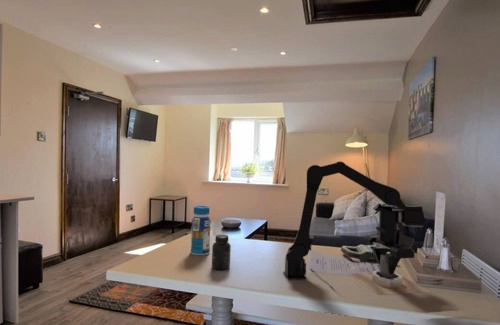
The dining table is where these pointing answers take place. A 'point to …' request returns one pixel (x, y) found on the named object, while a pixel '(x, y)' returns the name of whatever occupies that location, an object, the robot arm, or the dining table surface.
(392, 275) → the grey rounded plug
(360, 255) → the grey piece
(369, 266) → the dining table surface
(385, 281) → the aluminium collar
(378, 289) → the tan square board
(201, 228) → the beverage bottle
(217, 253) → the supplement bottle
